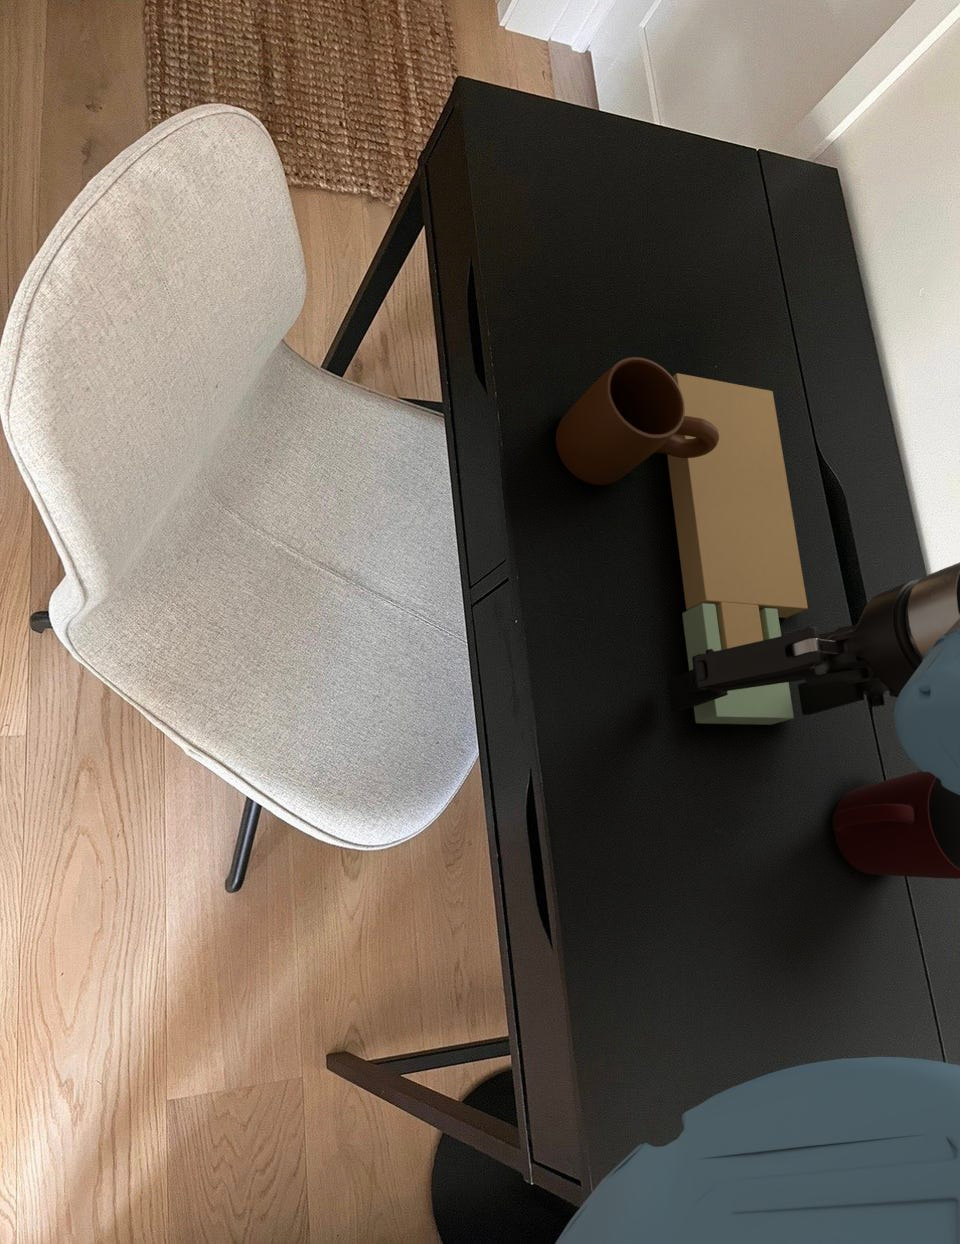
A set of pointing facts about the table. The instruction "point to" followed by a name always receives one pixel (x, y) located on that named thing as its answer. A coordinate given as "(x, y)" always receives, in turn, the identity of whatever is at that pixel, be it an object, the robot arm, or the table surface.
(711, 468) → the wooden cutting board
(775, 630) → the green block
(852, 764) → the table surface
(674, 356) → the table surface
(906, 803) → the mug
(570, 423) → the mug
